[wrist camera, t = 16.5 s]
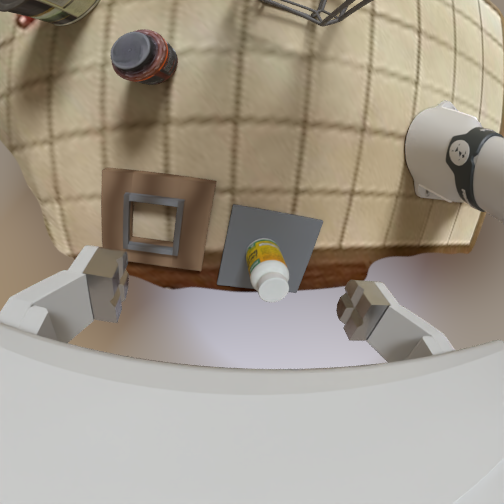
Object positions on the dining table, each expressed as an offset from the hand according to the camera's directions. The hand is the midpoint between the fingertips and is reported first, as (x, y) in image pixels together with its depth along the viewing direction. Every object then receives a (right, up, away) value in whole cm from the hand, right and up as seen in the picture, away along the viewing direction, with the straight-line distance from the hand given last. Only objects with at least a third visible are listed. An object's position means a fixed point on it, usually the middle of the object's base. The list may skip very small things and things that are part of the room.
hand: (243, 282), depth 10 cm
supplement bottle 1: (-12, +25, +18) cm, 33 cm away
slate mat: (+3, +1, +34) cm, 34 cm away
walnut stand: (-14, +6, +29) cm, 32 cm away
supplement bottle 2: (+2, +1, +34) cm, 34 cm away
